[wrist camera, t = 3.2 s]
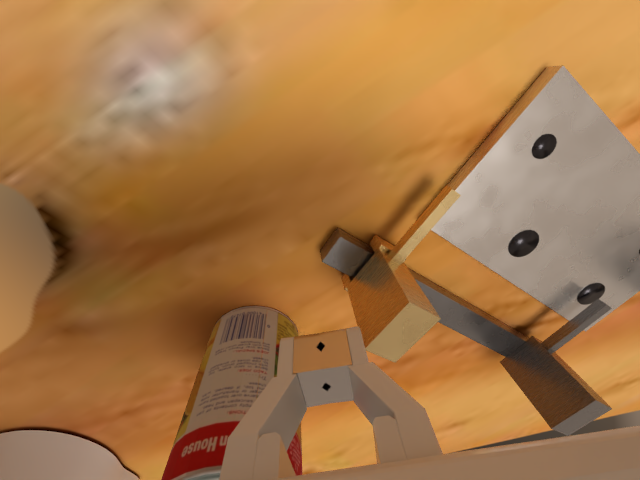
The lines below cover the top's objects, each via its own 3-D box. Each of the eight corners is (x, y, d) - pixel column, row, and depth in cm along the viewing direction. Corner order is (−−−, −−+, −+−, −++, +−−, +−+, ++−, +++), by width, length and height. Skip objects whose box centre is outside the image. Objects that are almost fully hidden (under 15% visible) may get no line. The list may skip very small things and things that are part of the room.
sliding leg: (364, 289, 24) (392, 365, 17) (341, 277, 23) (361, 352, 16) (449, 189, 20) (526, 236, 14) (425, 172, 20) (495, 212, 13)
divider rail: (514, 361, 31) (580, 440, 24) (314, 258, 22) (324, 332, 15) (595, 298, 27) (700, 368, 20) (394, 148, 19) (453, 180, 12)
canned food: (230, 375, 28) (191, 548, 17) (197, 317, 24) (122, 491, 14) (307, 357, 28) (316, 521, 17) (285, 296, 24) (280, 457, 13)
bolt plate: (574, 322, 29) (585, 331, 27) (418, 219, 22) (425, 225, 21) (693, 231, 24) (711, 237, 23) (546, 67, 18) (563, 65, 16)
